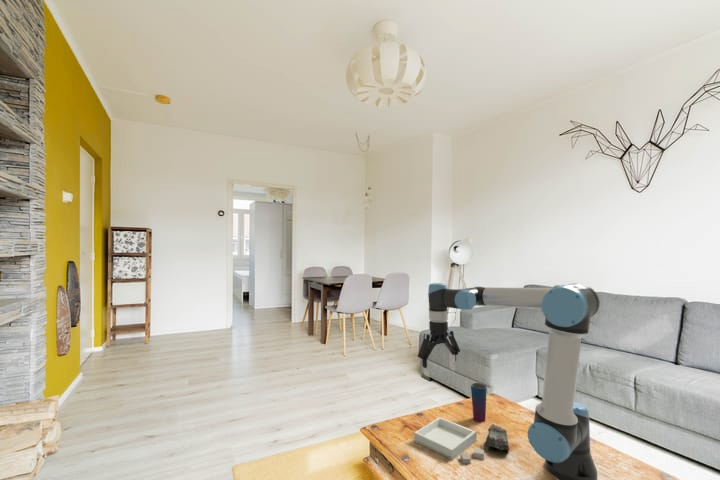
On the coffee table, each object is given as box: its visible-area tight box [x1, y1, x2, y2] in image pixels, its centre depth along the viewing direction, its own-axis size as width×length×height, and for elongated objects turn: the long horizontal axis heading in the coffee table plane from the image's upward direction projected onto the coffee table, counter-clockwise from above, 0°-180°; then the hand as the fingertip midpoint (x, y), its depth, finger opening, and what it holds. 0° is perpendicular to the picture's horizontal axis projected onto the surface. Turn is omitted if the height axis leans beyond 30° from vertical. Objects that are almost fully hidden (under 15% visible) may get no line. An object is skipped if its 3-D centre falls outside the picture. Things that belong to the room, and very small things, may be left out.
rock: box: [484, 423, 510, 451], centre depth 132 cm, size 13×9×6 cm, turn 159°
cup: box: [470, 382, 488, 423], centre depth 153 cm, size 7×7×15 cm
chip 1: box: [459, 453, 472, 464], centre depth 123 cm, size 3×3×2 cm
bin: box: [413, 417, 478, 461], centre depth 136 cm, size 17×18×4 cm
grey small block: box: [472, 448, 485, 460], centre depth 125 cm, size 4×3×2 cm
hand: (439, 372), depth 141 cm, fingers open, 13 cm apart
